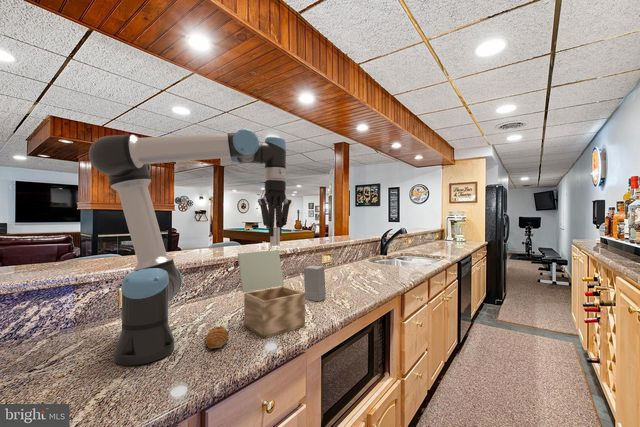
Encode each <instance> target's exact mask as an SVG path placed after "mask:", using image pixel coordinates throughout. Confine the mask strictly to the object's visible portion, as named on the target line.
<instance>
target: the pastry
mask: <svg viewBox="0 0 640 427" xmlns="http://www.w3.org/2000/svg"><path fill="white" fill-rule="evenodd" d="M228 340H229V332H228V330H227V329H226V328H225V327H223V326H216V327H213V328H211V329H210V330H209V332H208V333H207V334H206V335H205V343H206V345H207V348H208V349H216V348H222V347H223V346H225V344H227V341H228Z"/></svg>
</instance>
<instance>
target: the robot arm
mask: <svg viewBox="0 0 640 427" xmlns="http://www.w3.org/2000/svg"><path fill="white" fill-rule="evenodd" d="M229 158H230V161H231V162H232V163H236V164H237V163H238V164H260V165H262V164H263V165H264V179H265V181H264V191H265V193H264V194H263V197H261V198H258V199H257V202H258V203H259V207H260V211H261V217H262V222H263V226H265V227H267V228H268V237H269V238H270V239H269V241H270V242H269V246H273V247H275V246H280V244H281V242H280V241H281V236H282V231H283V230H282V228H283V227H284V226H286V225H287V222H288V215H289V211H290V205H291V204H292V199H289V198H287V195H286V190H287V189H286V188H287V187H286V186H287V184H286V183H287V182H286V181H285V180H287V179H286V175H287V172H286V170H287V168H286V167H287V148H286V140H285V139H284V138H283V137H281V136H276V135H275V136H274V135H273V136H267V137H266V138H265V139H264V141H263V142H260V141H259V137H258V136H257V134H256V133H255V131H253V130H252V129H250V128H240V129H239V130H237V131H236V132H226V133H206V134H189V135H188V134H187V135H169V136H149V137H148V136H147V137H138V136H137V135H135V134H118V135H117V134H116V135H106V136H102V137H99V138H97V139H96V140H94V141H93V143H91V145H90V147H89V150H88V159H89V161H90V163H91V165H92V166H93V167H94V168H95V170H97V171H98V172H100V173H102V174H103V175H107V178H108V182H109V186H110V188H111V189H113V191H115V192H118V197H119V200H120V204H121V207H122V211H123V214H124V218H125V221H126V225H127V228H128V232H129V235H130V238H131V239H130V240H131V243H132V246H133V250H134V253H135V256H136V257H135V258H136V259H137V263H136V266H135V267H134V269H133V270H134V271H131V272H129V273H127V274H126V275H125V276H124V277H123V279H122V281H121V282H122V284H121V288H120V291H121V331H120V334H119V336H118V339H117V341H116V345H115V347H114V350H113V361H114V362H115V363H116V364H118V365H122V366H138V365H144V364H149V363H152V362H155V361H158V360H160V359H161V360H162V359H163V358H165V357H167V356H169V355H170V354H171V353H172V352H173V351H174V350H175V338H174V334H173V332H172V329H171V327H170V324H169V303H170V301H171V300H172V299H174V297H175V296H177V294H178V292H180V289H181V287H182V282H183V276H182V273H181V271H180V270H179V268H177V267H176V265H175V261H174V258H173V257H171V256H170V255H168V254H167V250H166V248H165V245H164V241H163V240H164V239H163V237H162V233H161V231H160V230H161V229H160V226H159V222H158V219H157V216H156V215H157V214H156V212H155V208H154V205H153V201H152V197H151V194H150V191H149V185H150V184H151V183H152V178H151V175H150V172H151V164H163V163H176V162H178V163H179V162H189V161H190V162H191V161H192V162H193V161H202V160H215V159H218V160H219V159H229Z"/></svg>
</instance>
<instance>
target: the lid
mask: <svg viewBox="0 0 640 427" xmlns="http://www.w3.org/2000/svg"><path fill="white" fill-rule="evenodd" d="M237 259H238V267H239V269H238V270H239V276H240V284H241V291H242V293H249V292H254V291H260V290H265V289H270V288H276V287H281V286H285V282H284V276H283V269H282V264H281V256H280V250H279V249H277V250H266V251H265V250H264V251H263V250H262V251H254V252H253V251H252V252H241V253H240V252H239V253H237Z"/></svg>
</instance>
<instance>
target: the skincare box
mask: <svg viewBox="0 0 640 427" xmlns="http://www.w3.org/2000/svg"><path fill="white" fill-rule="evenodd" d="M303 277H304V278H303V279H304V281H303V282H304V293H305V301H314V302H321V301H323V300H326V297H327V295H326V294H327V293H326V292H327V291H326V274H325V266H324V265H321V266H319V265H308V266H305V267H303Z"/></svg>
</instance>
